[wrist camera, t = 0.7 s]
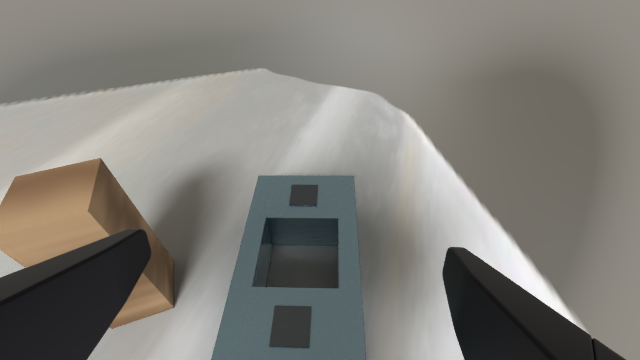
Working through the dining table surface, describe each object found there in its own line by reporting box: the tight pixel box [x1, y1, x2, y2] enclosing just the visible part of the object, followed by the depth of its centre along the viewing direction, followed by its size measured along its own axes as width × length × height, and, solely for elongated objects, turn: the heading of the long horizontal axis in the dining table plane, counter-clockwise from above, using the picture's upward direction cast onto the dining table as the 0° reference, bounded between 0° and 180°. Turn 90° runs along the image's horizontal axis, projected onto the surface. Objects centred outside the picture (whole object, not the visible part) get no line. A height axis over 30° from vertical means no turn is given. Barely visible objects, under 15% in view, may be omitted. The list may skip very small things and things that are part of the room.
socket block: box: [211, 176, 366, 360], centre depth 24 cm, size 16×9×4 cm, turn 178°
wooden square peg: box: [0, 158, 174, 329], centre depth 21 cm, size 4×4×12 cm
